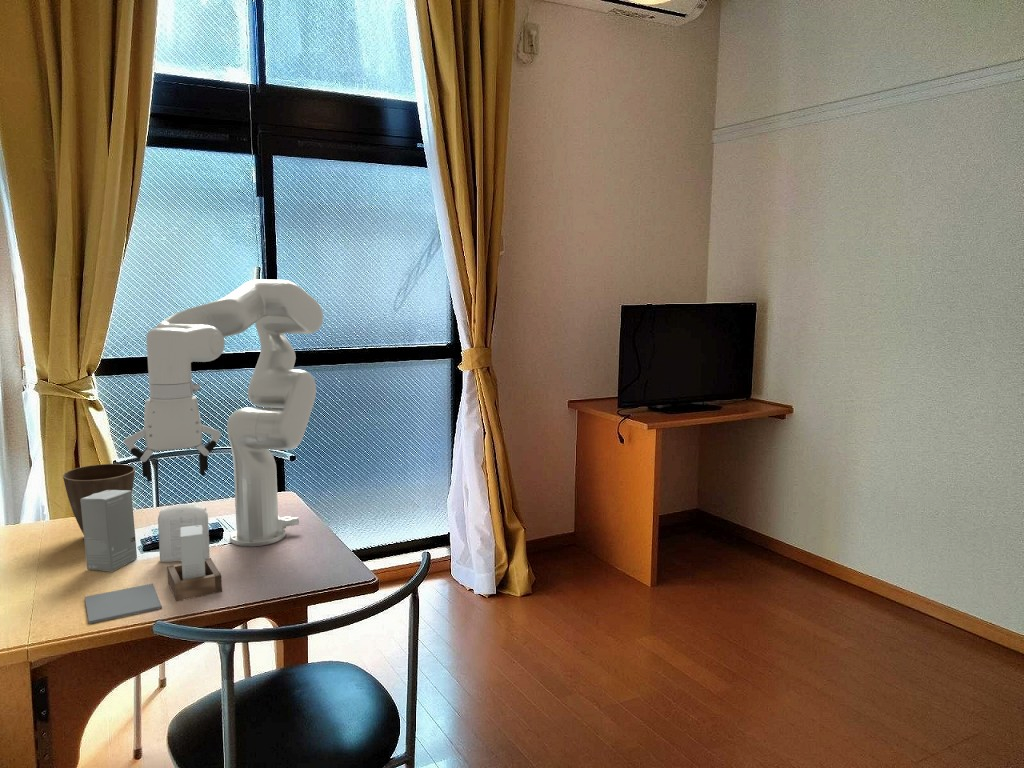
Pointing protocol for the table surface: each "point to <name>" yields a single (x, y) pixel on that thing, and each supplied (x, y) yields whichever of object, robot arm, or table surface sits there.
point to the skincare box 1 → (108, 529)
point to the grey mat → (122, 603)
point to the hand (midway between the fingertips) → (176, 476)
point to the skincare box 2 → (192, 552)
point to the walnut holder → (194, 582)
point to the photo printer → (170, 529)
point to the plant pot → (96, 483)
